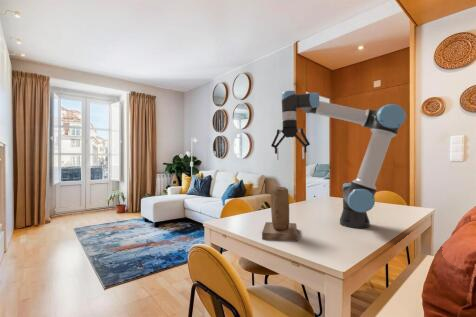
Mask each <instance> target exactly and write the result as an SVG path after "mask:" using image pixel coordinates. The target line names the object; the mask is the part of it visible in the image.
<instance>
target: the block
mask: <svg viewBox="0 0 476 317" xmlns="http://www.w3.org/2000/svg"><path fill="white" fill-rule="evenodd" d="M270 210H271V211H270V213H271V222H272V225H273V228H274V229H277V230H286V229H288V228H289V223H290V198H289V189H288V188H287V187H285V186H276V187H275V186H274V187H273V188H272V189H271V194H270Z"/></svg>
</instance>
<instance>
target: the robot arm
mask: <svg viewBox="0 0 476 317" xmlns="http://www.w3.org/2000/svg"><path fill="white" fill-rule="evenodd" d="M297 109H298V110H299V109H301V110H302V111H303V113H306V114H313V115H314V114H315V115H318V116H319V115H320V116H324V117H327V118H332V119H338V120H342V121H345V122H348V123H349V122H350V123H354V124H359V125H361V127H363V128H368V129H369V130H370V132H371V136H370V139H369V142H368V145H367V147H366V151H365V154H364V156H363V159H362V162H361V164H360V167H359V170H358V173H357V176H356V179H353V180H352V181H351V182H348V183H347V182H345V183H343V184H342V188H341V189H342V212H341V214H340V218H339V224H340V225H342V226H344V227H347V228H354V229H366V228H367V229H368V228H369V227H370V226H371V224H370V223H371V222H370V219H369V216H368V213H367V212H369V211H370V210H372V209H373V208H374V206H375V203H376V201H375V200H376V198H375V196H376V193H377V189H378V188H377V187H376V182H377V180H378V177H379V174H380V171H381V169H382V166H383V163H384V161H385V158H386V155H387V151H388V149H389V146H390V143H391V140H392V139H393V138H394V137H397V134H398V132H399V129H400V127H401V126H402V125H403V124H404V123H405V121H406V118H407V113H406V111H405V109H404V108H403V107H402V106H400V105H399V104H395V103H389V104H385V105H383V106H381V107H380V108H379V109H370V108H369V109H365V110H364V109H359V108H355V107H351V106H350V107H349V106H346V105H340V104H336V103H332V102H326V101H323V100H322V101H321V100H320V93H319V92H308V93H299V94H297V92H296V91H295V90H285V91H283V92H282V93H281V115H282V116H281V117H282V118H281V119H282V129H277V130H276V135H275V137H274V139H273V141H272V143H271V148H274V154H276V159H277V160H278V161H279V158H280V156H279V145H280V144H281V143H282V142H283V140H284V139H285V138H295V139H296V140H297V141H298V143H300V144H301V146H302V148H301V150H302V154H301V155H302V160H305V159H306V158H305V156H306V155H305V153H307V147H309V146H310V145H311V143H310V141H309V140H308V138H307V136H306V135H305V133H304V129H303V128H299V129H298V128H297V124H298V123H297V118H298V117H297ZM281 133H282V134H283V135H282V137H281V138H280V139H279V140H278V137H279V135H280V134H281ZM297 133H299V134H300V135H301V137H302V138H303V140H302V139H301V138H300V137H299V136H298V134H297ZM277 140H278V142H277ZM276 142H277V143H276ZM277 160H276V161H277Z"/></svg>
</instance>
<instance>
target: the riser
mask: <svg viewBox="0 0 476 317" xmlns="http://www.w3.org/2000/svg"><path fill="white" fill-rule="evenodd" d="M297 227H298V226H297V223H294V222H289V228H288V229H286V230H277V229H274V228H273V225H272V221H271V222H270V221H266V222H265V224H264V226H263V229H262V231H261V240H270V241H271V240H274V241H291V242H298V229H297Z"/></svg>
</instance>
